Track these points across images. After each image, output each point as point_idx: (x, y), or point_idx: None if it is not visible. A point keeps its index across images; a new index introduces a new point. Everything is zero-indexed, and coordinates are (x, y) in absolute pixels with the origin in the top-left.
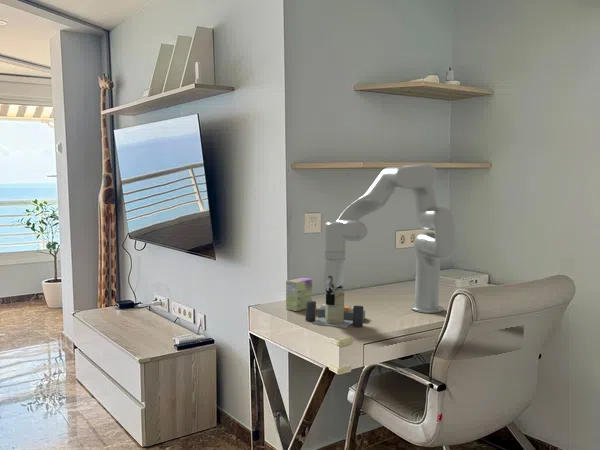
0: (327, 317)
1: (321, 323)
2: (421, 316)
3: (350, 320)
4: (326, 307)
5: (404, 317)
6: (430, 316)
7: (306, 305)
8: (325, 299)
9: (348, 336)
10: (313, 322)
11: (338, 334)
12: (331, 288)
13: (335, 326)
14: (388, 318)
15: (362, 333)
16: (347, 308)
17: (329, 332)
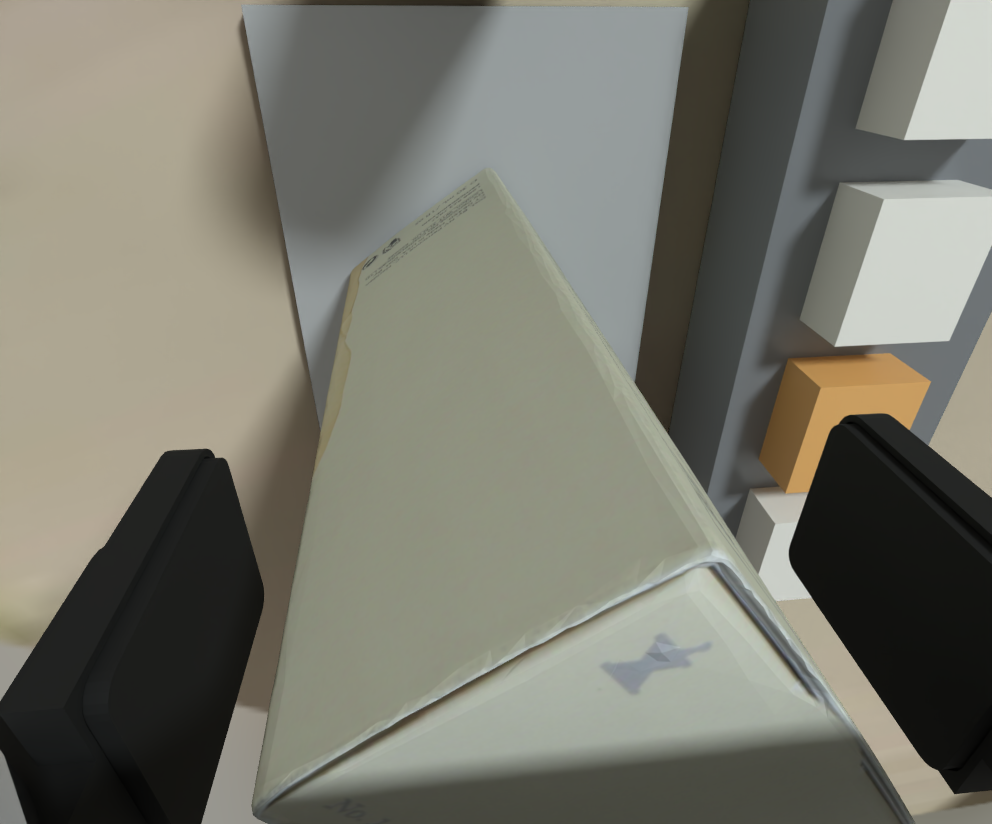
0: (354, 292)
1: (302, 178)
2: (922, 760)
3: (670, 433)
4: (425, 305)
5: (882, 708)
6: (925, 787)
7: None
8: (554, 304)
9: (59, 608)
10: (280, 9)
11: (39, 520)
12: (821, 686)
13: (315, 389)
14: (834, 648)
15: (250, 654)
16: (788, 470)
17: (26, 417)
